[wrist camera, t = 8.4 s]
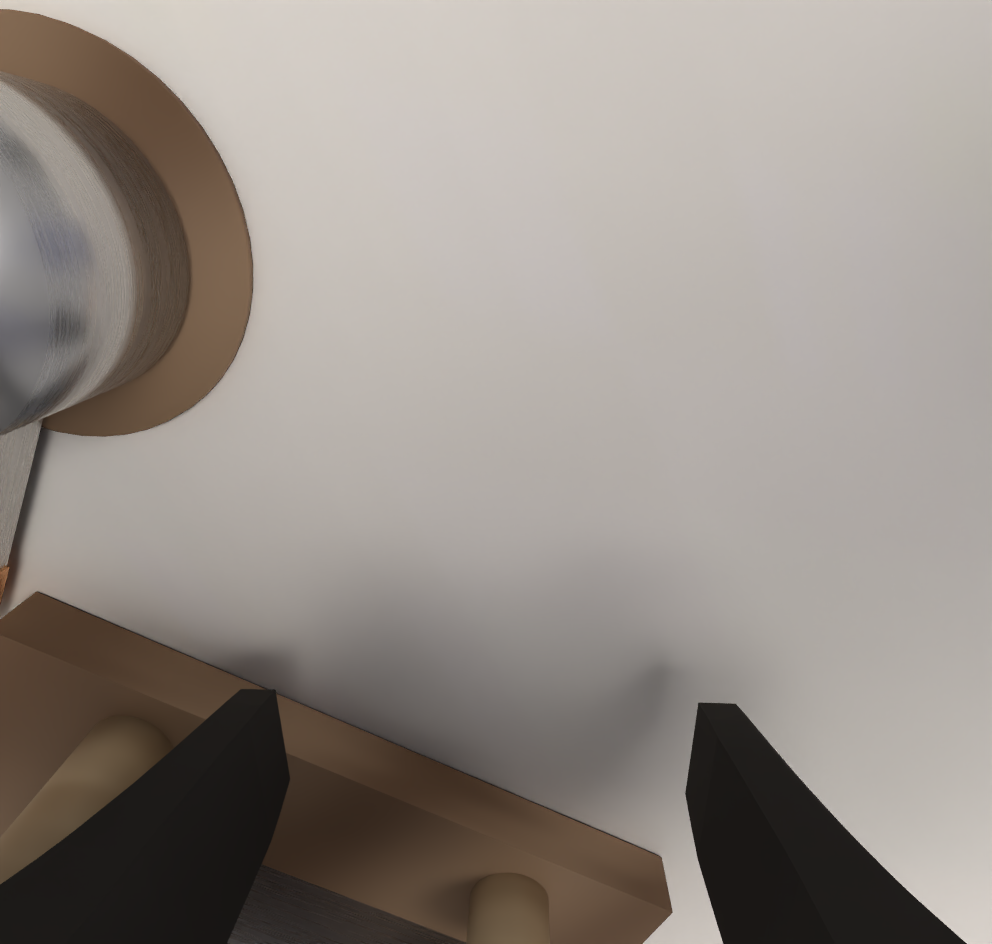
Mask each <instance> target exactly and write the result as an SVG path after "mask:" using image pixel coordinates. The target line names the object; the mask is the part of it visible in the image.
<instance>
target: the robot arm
mask: <svg viewBox="0 0 992 944" xmlns="http://www.w3.org/2000/svg"><path fill="white" fill-rule="evenodd" d="M289 782H290V774H289V768H288V762H287V756H286V750H285V744H284V738H283V732H282V726H281V720H280V714H279V708H278V702H277V696H276V690H264V689H240V690H239V691H238V692H237V693H236V694H234V695H233V696H232V697H231V698H230V699H229V700H227V701H226V702H225V703H224V704H223V705H222V706H221V707H220V708H218V709H217V710H216V711H215V712H214V713H213V714H212V715H211V716H209V717H208V718H207V719H206V720H205V721H204V722H203V723H202V724H201V725H199V726H198V727H197V728H196V729H195V730H194V731H193V732H192V733H190V734H189V735H188V736H187V737H186V738H185V739H184V740H183V741H181V742H180V743H179V744H178V745H177V746H176V747H175V748H174V749H172V750H171V751H170V752H169V753H168V754H167V755H165V756H164V757H163V758H162V759H161V760H160V761H159V762H157V763H156V764H155V765H154V766H153V767H152V768H150V769H149V770H148V771H147V772H146V773H145V774H143V775H142V776H141V777H140V778H139V779H138V780H136V781H135V782H134V783H133V784H132V785H130V786H129V787H128V788H127V789H125V790H124V791H123V792H122V793H121V794H119V795H118V796H117V797H116V798H114V799H113V800H112V801H111V802H109V803H108V804H107V805H106V806H104V807H103V808H102V809H101V810H99V811H98V812H97V813H96V814H94V815H93V816H92V817H91V818H89V819H88V820H87V821H86V822H84V823H83V824H82V825H81V826H79V827H78V828H77V829H76V830H74V831H73V832H72V833H71V834H69V835H68V836H67V837H65V838H64V839H63V840H61V841H60V842H59V843H57V844H56V845H55V846H53V847H52V848H51V849H49V850H48V851H47V852H45V853H44V854H42V855H41V856H40V857H38V858H37V859H36V860H34V861H33V862H31V863H30V864H29V865H27V866H26V867H24V868H23V869H21V870H20V871H19V872H17V873H16V874H14V875H13V876H12V877H10V878H9V879H7V880H6V881H4V882H3V883H2V884H0V944H227V942H228V940H229V938H230V935H231V933H232V931H233V929H234V926H235V924H236V922H237V919H238V917H239V915H240V913H241V910H242V908H243V906H244V904H245V901H246V899H247V897H248V894H249V892H250V890H251V887H252V885H253V883H254V881H255V878H256V876H257V874H258V871H259V869H260V867H261V864H262V862H263V860H264V857H265V855H266V853H267V850H268V848H269V845H270V843H271V841H272V837H273V834H274V831H275V828H276V825H277V822H278V819H279V816H280V812H281V809H282V806H283V802H284V799H285V795H286V792H287V789H288V785H289ZM685 794H686V800H687V805H688V811H689V816H690V822H691V827H692V832H693V837H694V842H695V847H696V852H697V857H698V861H699V864H700V868H701V871H702V875H703V878H704V881H705V885H706V888H707V891H708V895H709V898H710V901H711V905H712V908H713V911H714V915H715V918H716V921H717V925H718V928H719V931H720V934H721V938H722V941H723V944H966V943H965V942H964V941H963V940H962V939H961V938H960V937H958V936H957V935H956V934H955V933H954V932H953V931H952V930H951V929H949V928H948V927H947V926H946V925H945V924H944V923H943V922H942V921H940V920H939V919H938V918H937V917H936V916H935V915H934V914H933V913H932V912H930V911H929V910H928V909H927V908H926V907H925V906H924V905H923V904H921V903H920V902H919V901H918V900H917V899H916V898H915V897H914V896H913V895H912V894H911V893H909V892H908V891H907V890H906V889H905V888H904V887H903V886H902V885H901V884H900V883H899V882H898V881H897V880H896V879H895V878H894V877H893V876H892V875H891V874H890V873H889V872H888V871H887V870H886V869H885V868H884V867H883V866H882V865H881V864H880V863H879V862H878V861H877V860H876V859H875V858H874V857H873V856H872V855H871V854H870V853H869V852H868V851H867V850H866V849H865V848H864V847H863V846H862V845H861V844H860V843H859V842H858V841H857V840H856V839H855V838H854V837H853V836H852V835H851V834H850V833H849V832H848V831H847V830H846V829H845V828H844V827H843V825H842V824H841V823H840V822H839V821H838V820H837V819H836V818H835V817H834V816H833V815H832V814H831V813H830V811H829V810H828V809H827V808H826V807H825V806H824V805H823V804H822V803H821V802H820V800H819V799H818V798H817V797H816V796H815V795H814V794H813V793H812V792H811V791H810V790H809V788H808V787H807V786H806V785H805V784H804V783H803V782H802V781H801V779H800V778H799V777H798V776H797V775H796V774H795V773H794V771H793V770H792V769H791V768H790V767H789V766H788V765H787V763H786V762H785V761H784V760H783V759H782V758H781V756H780V755H779V754H778V753H777V752H776V751H775V749H774V748H773V747H772V746H771V745H770V743H769V742H768V741H767V740H766V739H765V737H764V736H763V735H762V734H761V733H760V732H759V730H758V729H757V728H756V727H755V726H754V724H753V723H752V722H751V721H750V720H749V718H748V717H747V716H746V715H745V714H744V712H743V711H742V710H741V709H740V708H739V707H738V706H737V705H736V704H725V703H698V710H697V717H696V724H695V731H694V738H693V745H692V752H691V759H690V765H689V772H688V779H687V786H686V793H685Z"/></svg>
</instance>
